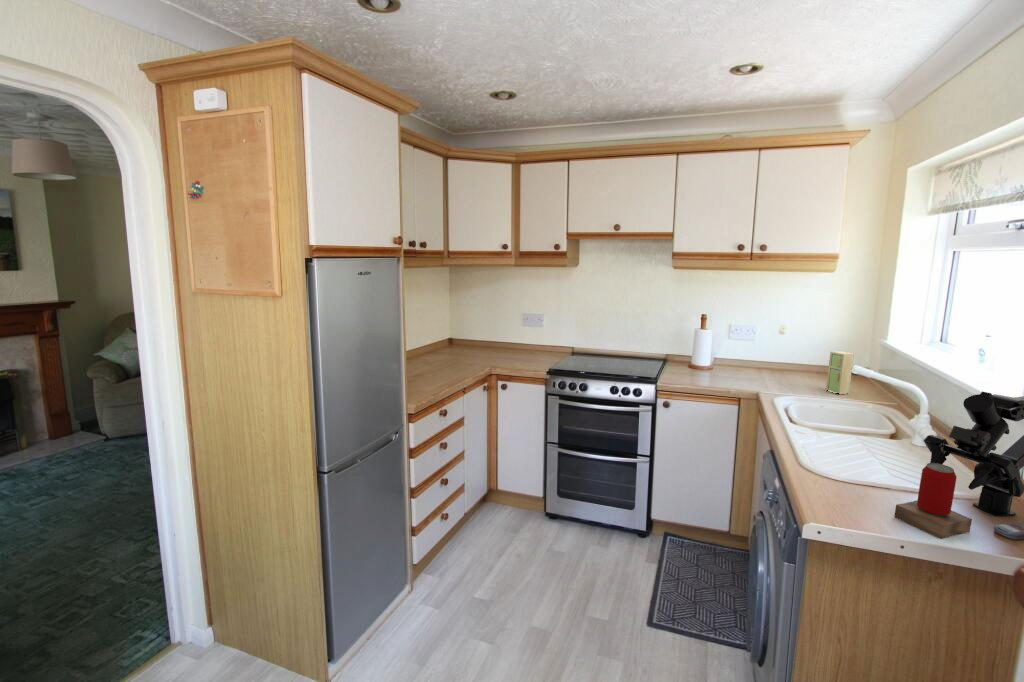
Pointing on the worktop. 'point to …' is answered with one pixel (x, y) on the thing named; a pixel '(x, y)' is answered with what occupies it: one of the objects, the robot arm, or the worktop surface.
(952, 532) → the walnut block
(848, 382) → the toy refrigerator
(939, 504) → the beverage can
